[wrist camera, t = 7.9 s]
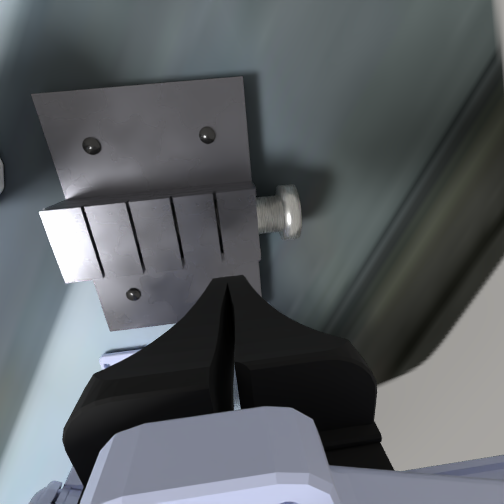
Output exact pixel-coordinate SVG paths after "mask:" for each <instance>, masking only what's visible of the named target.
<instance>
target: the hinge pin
mask: <svg viewBox="0 0 504 504" xmlns="http://www.w3.org/2000/svg"><path fill="white" fill-rule="evenodd" d="M214 204H215V211H216V219H217V226H218V233H219V238H222V234H221V227H220V219H219V212H218V204H217V202H214ZM256 206H257V218H258V230H259V234H262V233H271V232H279V233H280V236H281V239H282V240H289V239H298V238H299V237H300V234H301V227H302V215H301V205H300V199H299V194H298V191H297V188H296V186H295V185H294V184H290V185H281V186H277V188H276V195H275V196H265V197H256ZM173 210H174V215H175V220H176V225H177V230H178V235H179V240H180V243H181V238H180V233H179V228H178V223H177V217H176V212H175V207H174V206H173Z"/></svg>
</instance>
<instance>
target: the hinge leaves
mask: <svg viewBox="0 0 504 504" xmlns="http://www.w3.org/2000/svg"><path fill="white" fill-rule="evenodd" d="M31 96H32V99H33V102H34V105H35V108H36V111H37V114H38V117H39V120H40V123H41V126H42V129H43V132H44V135H45V138H46V141H47V144H48V147H49V150H50V153H51V156H52V159H53V162H54V165H55V168H56V171H57V174H58V177H59V180H60V183H61V186H62V189H63V192H64V195H65V198H66V200H64V201H61V202H59V203H57V204H54V205H52V206H50V207H47V208H45V209H43V210H42V211H39V214H40V216H41V219H42V222H43V224H44V227H45V230H46V232H47V235H48V238H49V240H50V243H51V246H52V248H53V251H54V254H55V256H56V259H57V262H58V264H59V267H60V269H61V272H62V275H63V277H64V280H65V283H72V282H80V281H89V280H93V282H94V285H95V288H96V291H97V294H98V297H99V300H100V303H101V306H102V309H103V312H104V315H105V318H106V321H107V324H108V327H109V330H110V332H111V331H119V330H126V329H134V328H142V327H150V326H158V325H166V324H174V323H177V322H178V321H180V320H181V319H182V318H183V317H184V316H185V315H186V313H187V312H188V311H189V310H190V309H191V308H192V307H193V305H194V304H195V303H196V302H197V300H198V299H199V298H200V296H201V295H202V294H203V292H204V291H205V289H206V288H207V286H208V285H209V283H210V282H211V280H212V279H213V278H220V277H228V276H237V275H244V276H245V277H246V279H247V280H248V282H249V283H250V285H251V286H252V287H253V288H254V289H255V291H256V292H257V293H258V294H259V295H260V296H261V297H262V295H261V284H260V272H259V260H261V248H260V243H259V230H258V218H257V206H256V187H255V185H254V183H253V182H252V178H251V167H250V155H249V143H248V132H247V120H246V108H245V96H244V85H243V76H239V77H227V78H215V79H204V80H192V81H180V82H168V83H156V84H144V85H132V86H120V87H108V88H97V89H85V90H73V91H61V92H49V93H37V94H31ZM214 200H217V204H218V212H219V219H220V227H221V234H222V238H219V233H218V226H217V219H216V211H215V204H214ZM173 204H174V207H175V212H176V217H177V223H178V228H179V233H180V238H181V243H180V240H179V235H178V230H177V225H176V220H175V215H174V210H173Z"/></svg>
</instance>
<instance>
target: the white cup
mask: <svg viewBox="0 0 504 504" xmlns="http://www.w3.org/2000/svg"><path fill="white" fill-rule="evenodd" d="M3 189H4V171H3V163H2V161H1V159H0V194H1V192H2V190H3Z"/></svg>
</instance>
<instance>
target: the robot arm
mask: <svg viewBox="0 0 504 504" xmlns="http://www.w3.org/2000/svg"><path fill="white" fill-rule="evenodd" d="M234 355H235V357H234ZM99 362H100V365H101V368H102V370H101V371H99V372H97V373H95V374H93V376H92V378H91V379H90V381H89V382H88V384H87V386H86V387H85V389H84V391H83V393H82V395H81V397H80V398H79V400H78V402H77V404H76V406H75V408H74V410H73V412H72V414H71V415H70V417H69V419H68V421H67V423H66V425H65V427H64V430H63V438H62V440H63V444H64V447H65V451H66V453H67V455H68V457H69V459H70V461H71V463H72V465H73V466H72V469H71V471H70V473H69V475H68V477H67V480H66V482H65V484H64V487H63V489H61V486H62V482H58V481H52V482H50V483H49V484H48V486H47V487H44V488H43V489H41V490H40V491H38V492H37V493H36V494H35V495H34V496H33V498H32V499H31V501H30V502H29V504H504V455H500V456H493V457H487V458H481V459H475V460H468V461H462V462H456V463H449V464H443V465H437V466H431V467H424V468H419V469H412V470H406V471H394V469H393V467H392V465H391V463H390V461H389V459H388V457H387V455H386V454H385V451H384V449H383V447H382V445H381V443H380V442H381V440H382V437H381V433H380V432H379V429H378V428H377V426H376V424H375V422H374V415H375V407H376V397H377V384H376V380H375V378H374V376H373V373H372V371H371V370H370V368H369V367H368V365H367V363H366V362H365V360H364V359H363V358H362V356H361V355H360V354H359V352H358V351H357V350H356V349H355V348H354V346H353V345H352V344H351V343H350V342H349V340H347V339H344V338H340V337H336V336H332V335H329V334H325V333H322V332H319V331H317V330H314V329H311V328H309V327H306V326H304V325H302V324H300V323H298V322H296V321H294V320H292V319H290V318H288V317H286V316H285V315H283V314H282V313H280V312H279V311H277V310H276V309H274V308H273V307H272V306H271V305H270V304H269V303H267V302H266V301H265V300H264V299H263V298H262V297H261V296H260V295H259V294H258V293H257V292H256V291H255V289H254V288H253V287H252V286H251V285H250V283H249V282H248V280H247V279H246V277H245V276H244V275H237V276H228V277H220V278H213V279H212V280H211V282H210V283H209V285H208V286H207V288H206V289H205V291H204V292H203V294H202V295H201V296H200V298H199V299H198V300H197V302H196V303H195V304H194V305H193V307H192V308H191V309H190V310H189V311H188V312H187V313H186V315H185V316H184V317H183V318H182V319H181V320H180V321H178V322H177V323H176V324H175V325H174V326H173V327H172V328H171V329H169V330H168V331H167V332H165V333H164V334H163V335H161V336H160V337H159V338H157V339H156V340H155V341H153V342H152V343H151V344H149V345H147V346H146V347H144V348H143V349H139V350H131V351H123V352H116V353H108V354H103V355H102V356H101V357H100V359H99ZM107 364H109V365H107ZM234 364H235V371H236V378H237V385H238V392H239V399H240V406H241V410H234V403H233V378H234Z"/></svg>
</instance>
